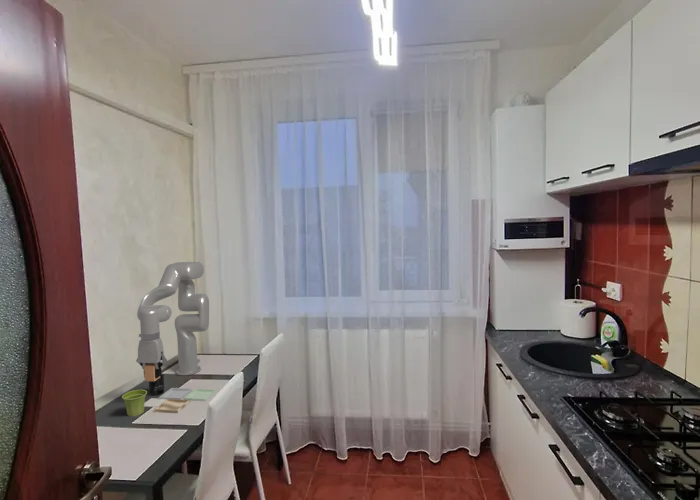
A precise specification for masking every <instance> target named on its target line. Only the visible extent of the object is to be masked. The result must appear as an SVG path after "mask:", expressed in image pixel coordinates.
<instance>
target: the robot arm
mask: <svg viewBox="0 0 700 500" xmlns="http://www.w3.org/2000/svg"><path fill="white" fill-rule="evenodd" d="M204 273H205V267H204V264H203V263H201V262H200V261H181V262H178V261H177V262H173V263H169V264H168V265H167V266H166V267H165V269H164V272H163V274H162V276H161V279H160V282H159V283H158V285H157V286H156V287H155V288H153V289H152V290H150V291H149V292H148V293H147V294H146V295H145V296H144V297H143V298H142V299H141V300H140V303H139V307H138V309H137V313H136V315H137V316H136V317H137V319H138V321H139V323H140V325H139V326H140V327H139V328H140V333H139V334H138V337H139V338H140V340H139V341H138V347H137V358H136V360H135V361H136V363H137V364H139V366H141V369H143V370H144V365H146V364H148V363H155V367H156V369H155V378H158V377H159V376H160V375H161V369H162V367H163V365H165V364H166V363H167V362H168V359H167V357H166V356H165V351H164V345H163V340H162V338H161V335H160V334H161V333H160V323H163V322H167V321H168V320H170V318H171V317H172V313H173V311H172V308H171V307H170V306H169V305H166V304H165V305H164V304H160V305H158V304H156V305H154V304H155V303H157V302H159V301H162V300H165V299H166V298H169V297H172V296H173V295H175V294H176V293H177V292H178V293H177V294H178V295H177V307H178V309H179V311H181V312H197V313H183V314H179V315H177V316H176V317H175V319H174V329H175V331H176V332H175V333H176V338H177V340H176V341H177V357H178V358H177V359H178V361H177V362H178V368H177V369H176V370H175V373H176V375H178V376H191V375H195V374H197V373H199V372H200V371H201V370H202V368H201V366H199V365H198V364H199V363H200V362H201V359H200V358H198V351H197V350H198V349H197V338H196V335H195V333H196V332H197V333H200V332H206V331H207V330H208V328H209V325H210V299H209V296H208V295H207V294H204V293H196V284H195V282H194V281H193V280H196V279H200V278H202V276H203V275H204ZM143 376H144V377H143V378H144V379H145V375H144V374H143Z"/></svg>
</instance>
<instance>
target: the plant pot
mask: <svg viewBox="0 0 700 500" xmlns="http://www.w3.org/2000/svg"><path fill="white" fill-rule="evenodd" d="M147 395H148V391H147V390H145V389H134V390H131V391H128V392H125V393H124V394H122V396H121V398H122V400H123V402H124V405H125V410H126V414H127V416H129V417H136V416H139V415H142V414H143V413H144V412H145V406H144V403H145V402H146V397H147Z"/></svg>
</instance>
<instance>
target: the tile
mask: <svg viewBox="0 0 700 500" xmlns="http://www.w3.org/2000/svg"><path fill="white" fill-rule="evenodd" d="M165 401H166V399H159V397H158V398H155V397H151V398H149V399H148V400H147V401H145V403H144V408H146V407H149V408H151V407H152V408H157V407H158V406H160V405H161V404H162V403H164V402H165Z"/></svg>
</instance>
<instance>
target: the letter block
mask: <svg viewBox="0 0 700 500" xmlns="http://www.w3.org/2000/svg"><path fill="white" fill-rule="evenodd" d="M155 369H156V367H155V363H148V364H146V365H144V369H143V376H144V375H145V378H144V382H148V381H156V380H157V379H159V378H160V376H159V377H158V378H155Z"/></svg>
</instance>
